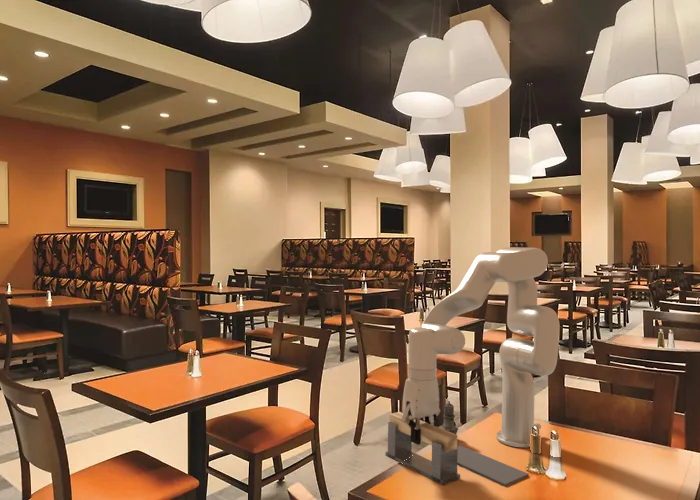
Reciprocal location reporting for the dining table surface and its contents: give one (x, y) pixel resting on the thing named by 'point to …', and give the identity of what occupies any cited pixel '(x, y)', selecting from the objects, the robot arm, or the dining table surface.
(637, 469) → the dining table surface
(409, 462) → the rack
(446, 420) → the grey figurine
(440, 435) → the rail
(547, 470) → the dining table surface
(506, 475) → the mat
